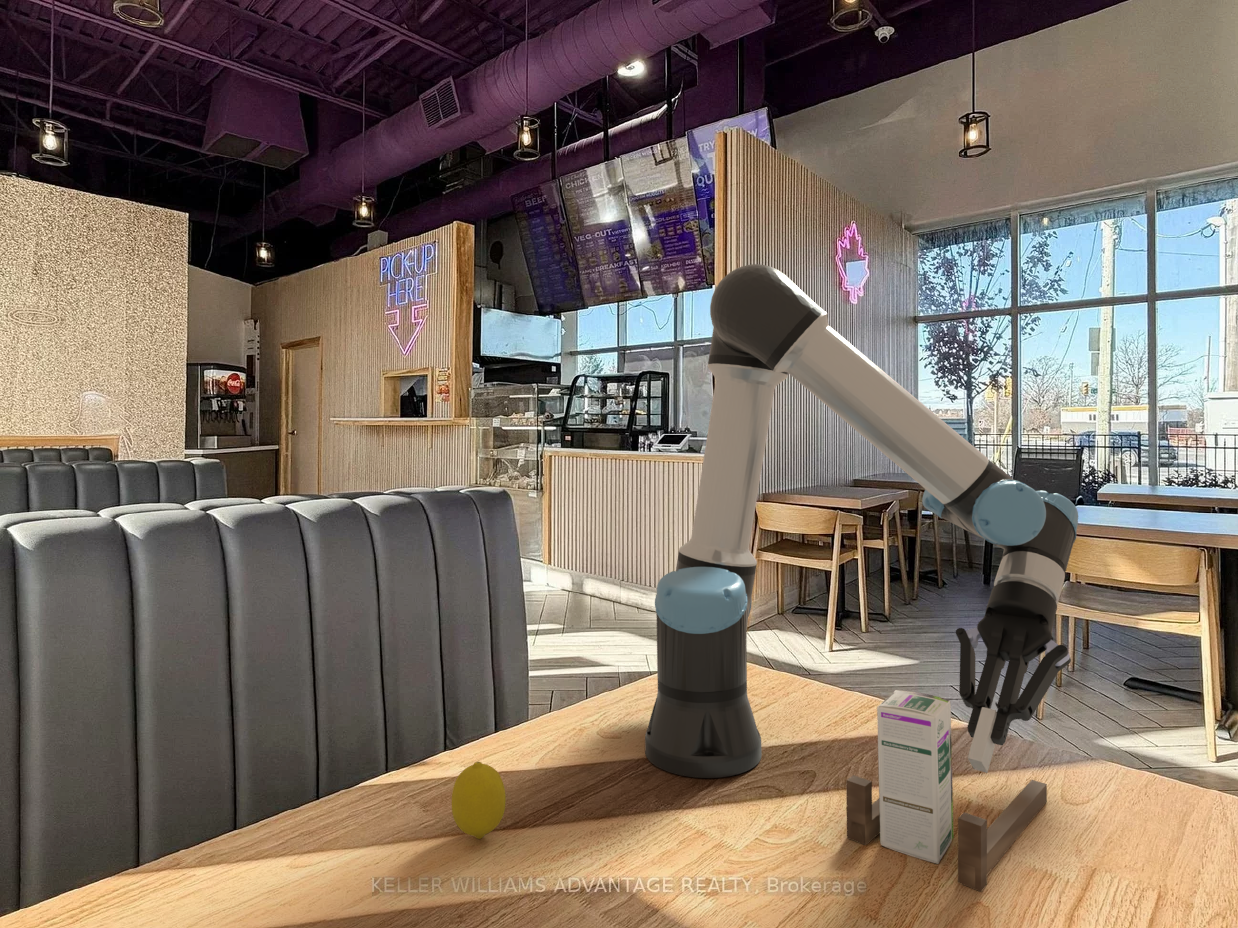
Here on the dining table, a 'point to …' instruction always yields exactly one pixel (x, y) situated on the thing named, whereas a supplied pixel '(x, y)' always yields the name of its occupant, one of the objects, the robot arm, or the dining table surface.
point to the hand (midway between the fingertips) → (977, 765)
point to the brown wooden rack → (974, 839)
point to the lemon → (478, 800)
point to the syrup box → (915, 774)
